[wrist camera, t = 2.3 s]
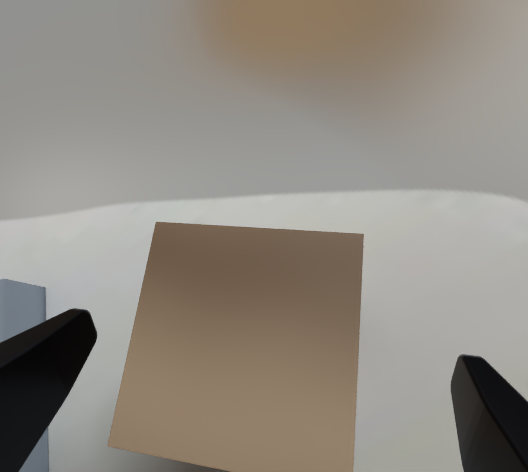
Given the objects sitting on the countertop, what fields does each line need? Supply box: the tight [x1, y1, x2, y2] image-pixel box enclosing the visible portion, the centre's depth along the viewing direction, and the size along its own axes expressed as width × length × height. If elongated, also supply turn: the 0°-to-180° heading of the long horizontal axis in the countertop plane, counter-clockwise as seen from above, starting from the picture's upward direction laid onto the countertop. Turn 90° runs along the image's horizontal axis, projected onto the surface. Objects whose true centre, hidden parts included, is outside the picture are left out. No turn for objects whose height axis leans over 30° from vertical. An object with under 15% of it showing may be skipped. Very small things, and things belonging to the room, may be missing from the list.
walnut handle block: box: [108, 222, 364, 472], centre depth 12 cm, size 5×5×10 cm
